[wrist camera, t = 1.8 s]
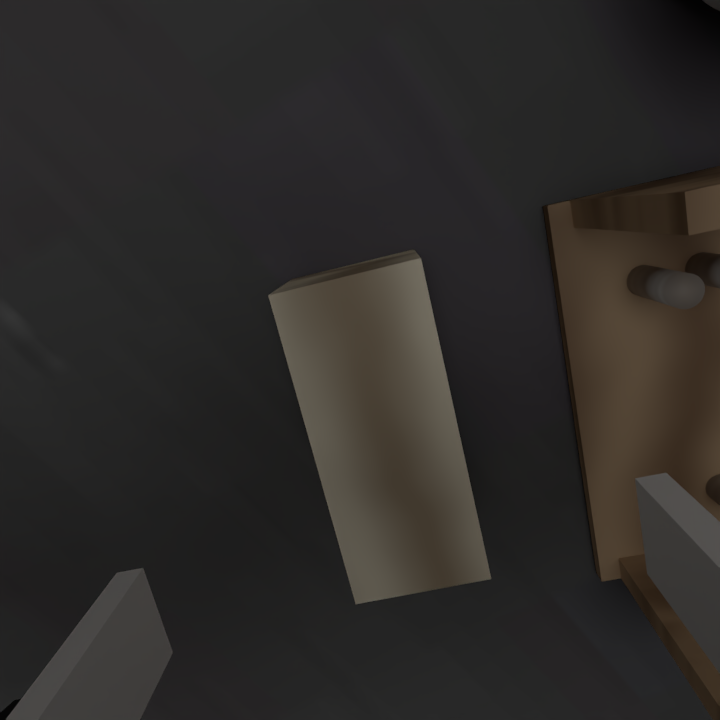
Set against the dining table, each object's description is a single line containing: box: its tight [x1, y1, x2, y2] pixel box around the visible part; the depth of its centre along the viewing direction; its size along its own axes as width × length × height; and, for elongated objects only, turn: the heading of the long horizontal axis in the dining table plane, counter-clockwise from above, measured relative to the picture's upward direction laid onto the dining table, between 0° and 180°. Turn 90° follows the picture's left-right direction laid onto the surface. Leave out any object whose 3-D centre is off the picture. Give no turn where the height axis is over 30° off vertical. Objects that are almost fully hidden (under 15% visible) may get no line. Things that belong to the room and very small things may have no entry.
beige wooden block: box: [268, 249, 491, 604], centre depth 27 cm, size 6×14×6 cm, turn 14°
